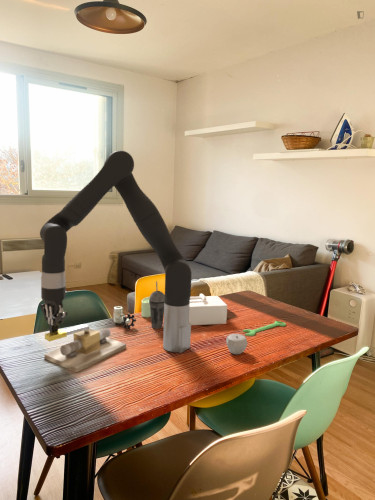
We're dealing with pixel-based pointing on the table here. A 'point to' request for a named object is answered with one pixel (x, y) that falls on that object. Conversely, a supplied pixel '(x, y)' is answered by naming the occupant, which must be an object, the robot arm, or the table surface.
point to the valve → (123, 317)
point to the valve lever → (66, 332)
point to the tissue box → (207, 310)
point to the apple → (236, 343)
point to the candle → (146, 307)
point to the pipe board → (85, 358)
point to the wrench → (263, 328)
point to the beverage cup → (157, 308)
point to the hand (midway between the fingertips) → (53, 334)
